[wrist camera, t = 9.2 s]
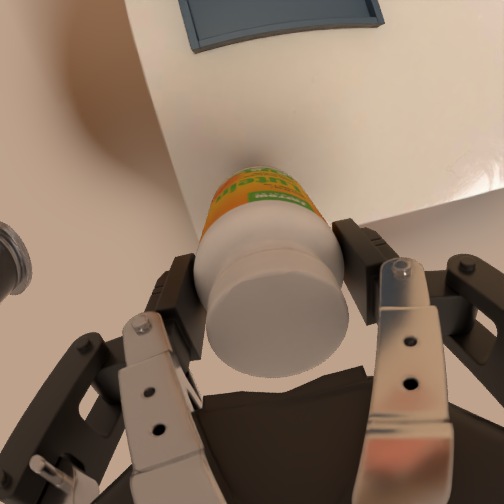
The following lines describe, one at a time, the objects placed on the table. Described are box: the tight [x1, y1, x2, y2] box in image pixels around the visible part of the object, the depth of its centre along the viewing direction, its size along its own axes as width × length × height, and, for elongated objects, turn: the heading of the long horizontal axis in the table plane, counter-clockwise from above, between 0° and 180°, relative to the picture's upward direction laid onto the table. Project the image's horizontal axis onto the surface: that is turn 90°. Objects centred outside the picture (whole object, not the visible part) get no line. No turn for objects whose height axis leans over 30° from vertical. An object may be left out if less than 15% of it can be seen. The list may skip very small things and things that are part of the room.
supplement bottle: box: [194, 166, 349, 378], centre depth 12 cm, size 5×5×10 cm
